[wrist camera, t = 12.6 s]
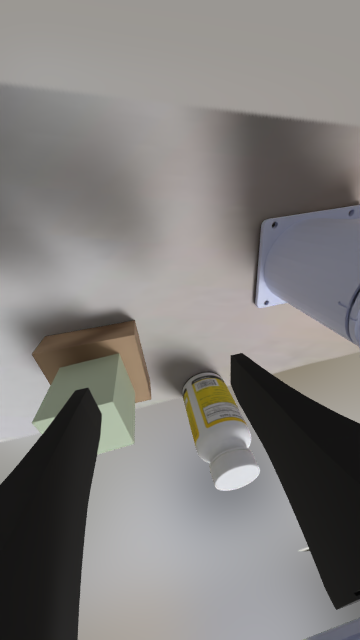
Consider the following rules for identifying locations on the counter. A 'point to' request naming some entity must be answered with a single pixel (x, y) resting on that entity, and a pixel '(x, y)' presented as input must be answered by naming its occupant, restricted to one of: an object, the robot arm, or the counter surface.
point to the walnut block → (97, 352)
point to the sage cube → (95, 398)
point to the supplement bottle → (219, 432)
